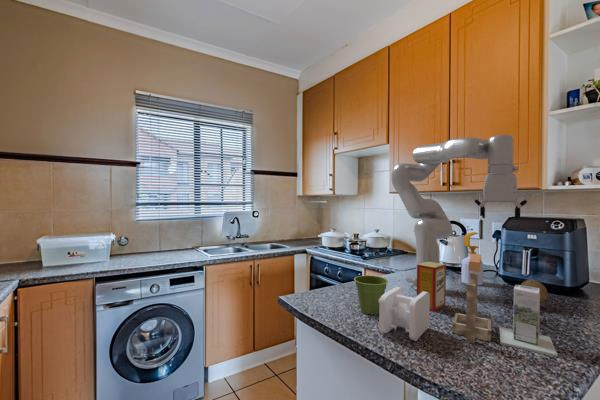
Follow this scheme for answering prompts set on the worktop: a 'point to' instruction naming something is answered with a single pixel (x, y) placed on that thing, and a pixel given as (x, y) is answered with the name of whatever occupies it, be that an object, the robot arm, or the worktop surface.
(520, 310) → the syrup box
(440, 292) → the baking soda box
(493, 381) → the worktop surface
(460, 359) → the worktop surface
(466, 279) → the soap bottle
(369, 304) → the plant pot
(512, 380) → the worktop surface
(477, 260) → the bar
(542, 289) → the natural sponge
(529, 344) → the mat
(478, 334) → the cradle
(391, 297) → the cable organizer
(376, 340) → the worktop surface
